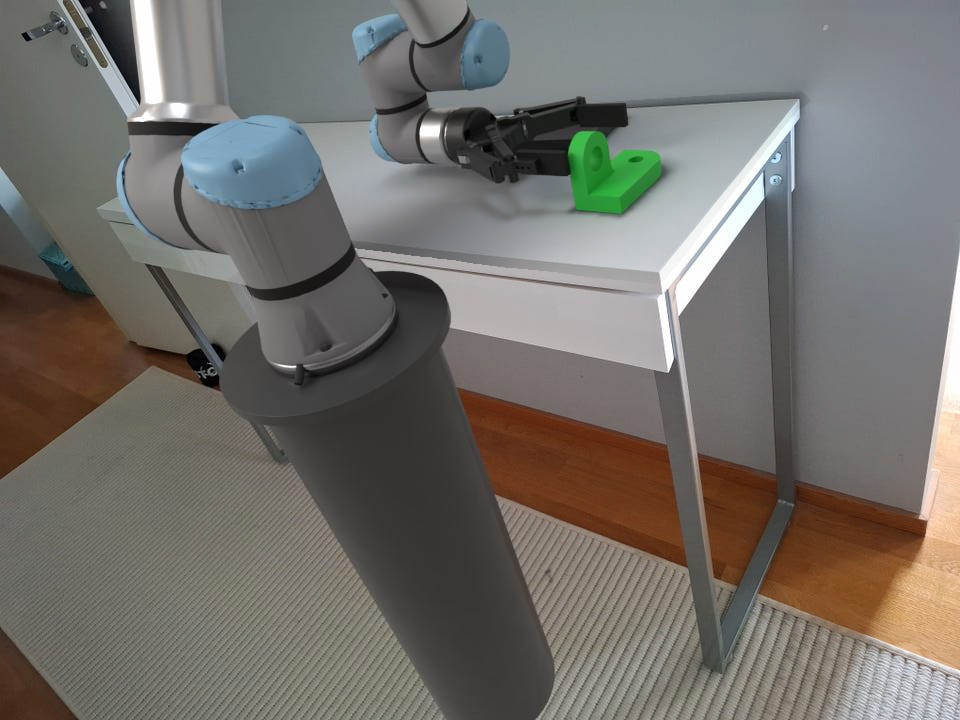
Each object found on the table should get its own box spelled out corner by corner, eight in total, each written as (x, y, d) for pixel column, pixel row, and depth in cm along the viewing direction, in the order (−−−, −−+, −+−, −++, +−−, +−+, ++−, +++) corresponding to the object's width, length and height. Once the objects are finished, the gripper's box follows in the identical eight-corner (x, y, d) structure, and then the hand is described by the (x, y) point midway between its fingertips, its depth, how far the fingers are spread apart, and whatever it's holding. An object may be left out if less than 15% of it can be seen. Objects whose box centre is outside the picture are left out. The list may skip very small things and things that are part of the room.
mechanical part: (621, 213, 74) (612, 144, 69) (576, 209, 77) (564, 143, 73) (670, 166, 80) (664, 100, 75) (626, 164, 84) (617, 101, 79)
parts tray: (589, 152, 90) (587, 138, 89) (483, 155, 100) (480, 142, 99) (623, 119, 97) (621, 105, 96) (520, 124, 107) (518, 112, 106)
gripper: (519, 126, 99) (650, 126, 86) (410, 205, 85) (545, 218, 72) (508, 75, 95) (644, 66, 82) (391, 149, 81) (531, 152, 68)
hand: (598, 138), depth 77 cm, fingers open, 13 cm apart
